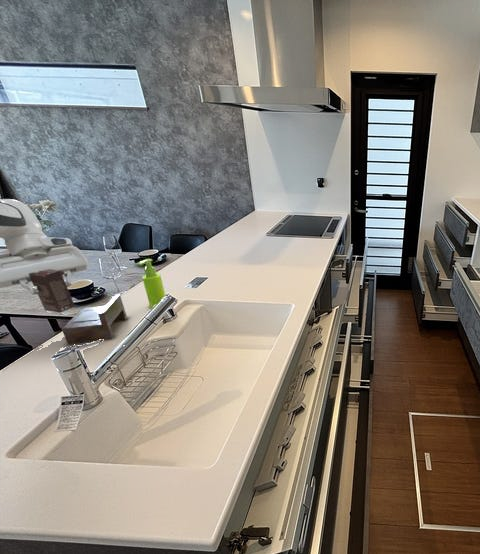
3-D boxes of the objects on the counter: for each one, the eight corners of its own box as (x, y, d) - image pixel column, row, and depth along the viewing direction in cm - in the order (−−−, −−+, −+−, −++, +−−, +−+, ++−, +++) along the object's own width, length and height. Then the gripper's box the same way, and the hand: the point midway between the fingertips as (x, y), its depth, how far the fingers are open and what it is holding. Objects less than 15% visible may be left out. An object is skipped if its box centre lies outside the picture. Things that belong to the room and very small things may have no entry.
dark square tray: (67, 344, 99) (56, 318, 95) (88, 322, 111) (79, 298, 107) (112, 338, 103) (103, 313, 99) (127, 318, 115) (120, 294, 111)
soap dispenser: (144, 308, 122) (131, 262, 114) (159, 300, 128) (147, 256, 120) (156, 310, 121) (144, 264, 113) (170, 303, 127) (160, 258, 119)
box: (76, 306, 93) (60, 270, 88) (60, 313, 89) (42, 276, 84) (61, 303, 94) (44, 267, 89) (44, 310, 90) (26, 273, 85)
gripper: (-26, 253, 80) (-4, 297, 79) (76, 237, 95) (96, 274, 94) (-20, 264, 84) (1, 306, 83) (77, 248, 99) (96, 283, 98)
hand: (52, 289), depth 88 cm, fingers closed on box, 5 cm apart
